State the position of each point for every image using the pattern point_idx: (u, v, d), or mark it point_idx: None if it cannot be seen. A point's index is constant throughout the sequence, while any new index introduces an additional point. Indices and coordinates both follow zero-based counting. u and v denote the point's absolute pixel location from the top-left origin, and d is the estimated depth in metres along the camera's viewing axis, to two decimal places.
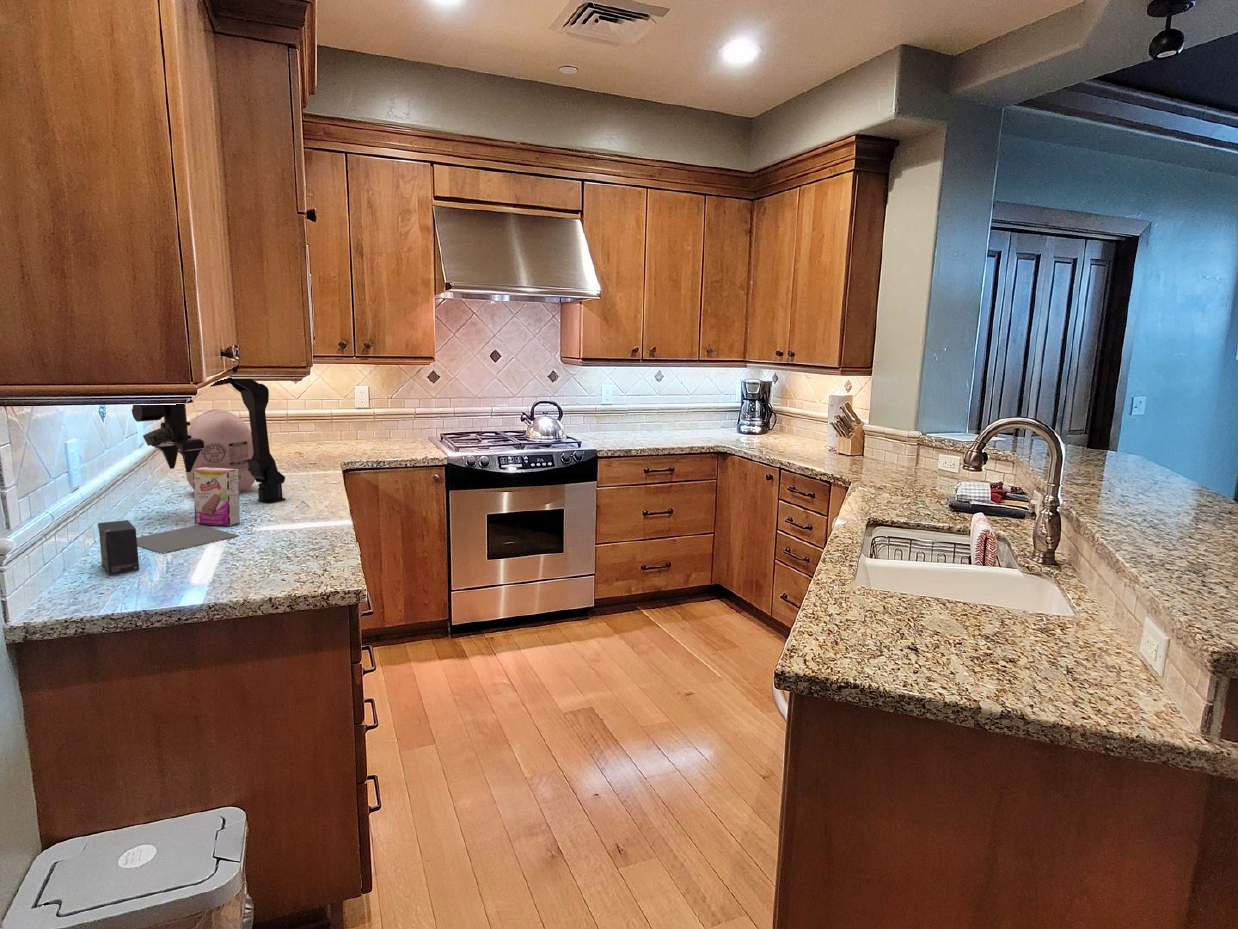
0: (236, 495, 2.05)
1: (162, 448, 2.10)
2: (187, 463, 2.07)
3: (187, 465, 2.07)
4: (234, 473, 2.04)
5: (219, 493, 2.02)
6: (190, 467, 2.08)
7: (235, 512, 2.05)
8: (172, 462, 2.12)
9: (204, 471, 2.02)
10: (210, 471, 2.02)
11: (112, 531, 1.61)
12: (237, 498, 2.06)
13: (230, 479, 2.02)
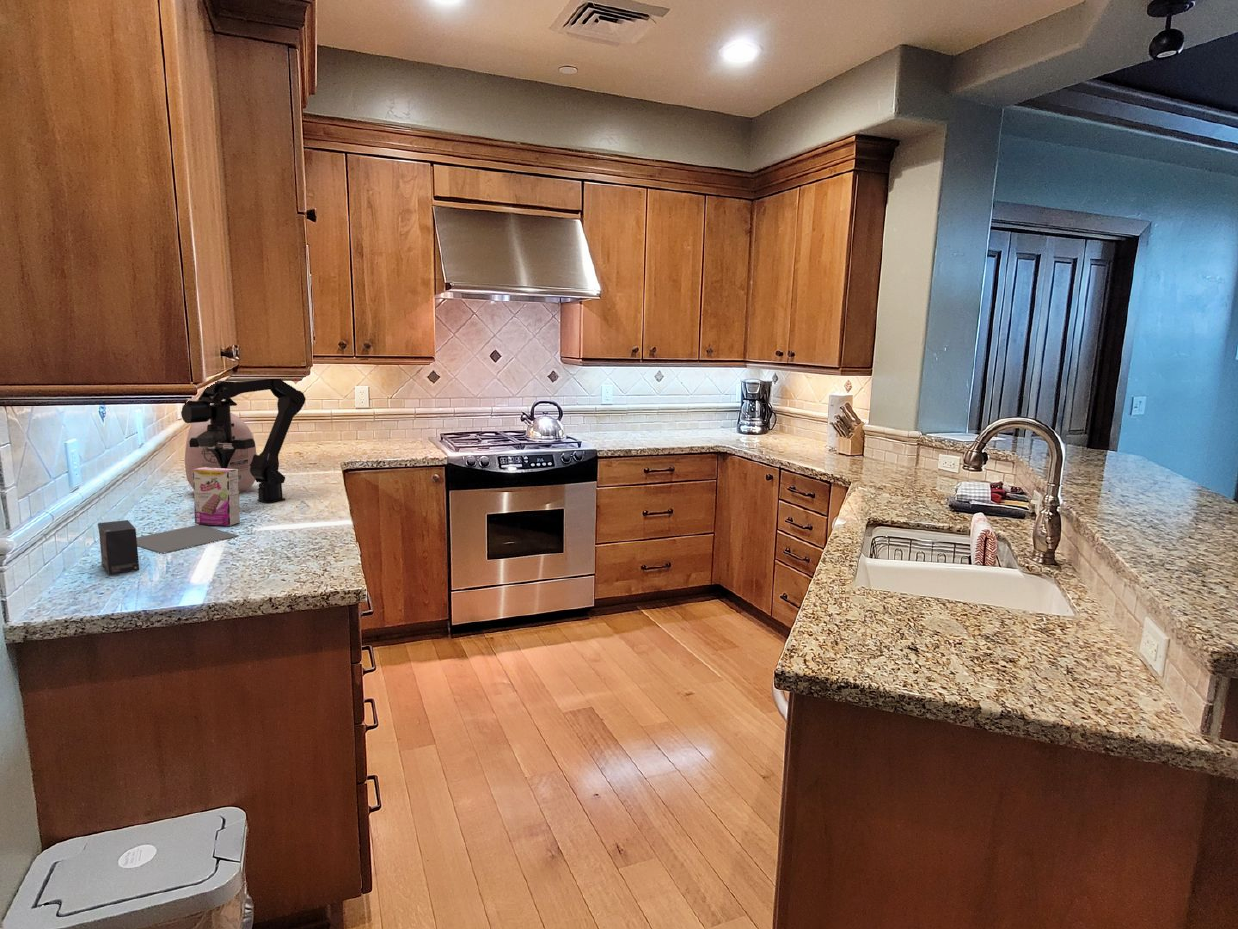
0: (236, 495, 2.05)
1: (216, 450, 2.19)
2: (225, 461, 2.20)
3: (225, 463, 2.21)
4: (234, 473, 2.04)
5: (219, 493, 2.02)
6: (227, 465, 2.22)
7: (235, 512, 2.05)
8: None
9: (204, 471, 2.02)
10: (210, 471, 2.02)
11: (112, 531, 1.61)
12: (237, 498, 2.06)
13: (230, 479, 2.02)
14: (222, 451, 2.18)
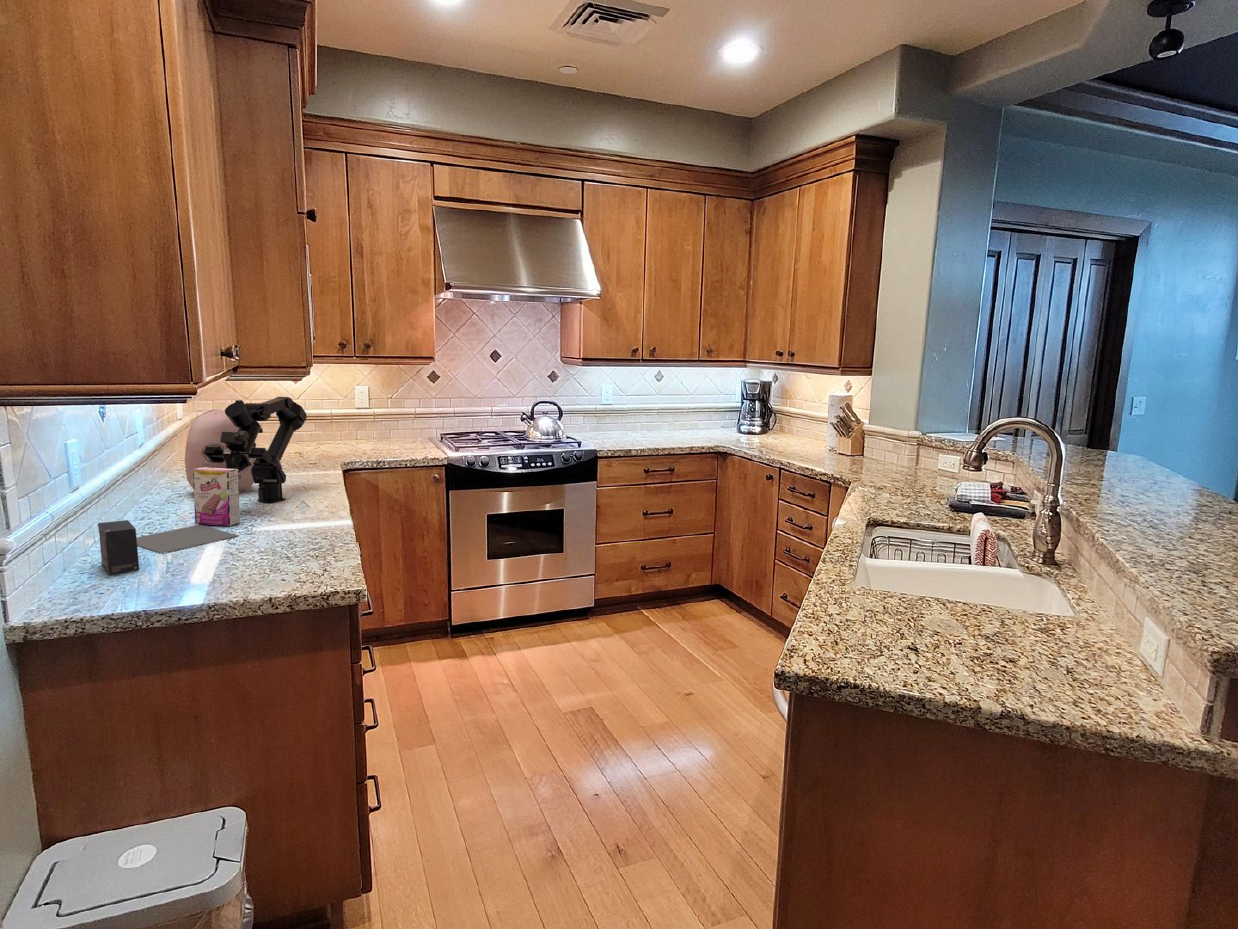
0: (236, 495, 2.05)
1: (230, 457, 2.13)
2: None
3: None
4: (234, 473, 2.04)
5: (219, 493, 2.02)
6: None
7: (235, 512, 2.05)
8: None
9: (204, 471, 2.02)
10: (210, 471, 2.02)
11: (112, 531, 1.61)
12: (237, 498, 2.06)
13: (230, 479, 2.02)
14: (237, 456, 2.13)
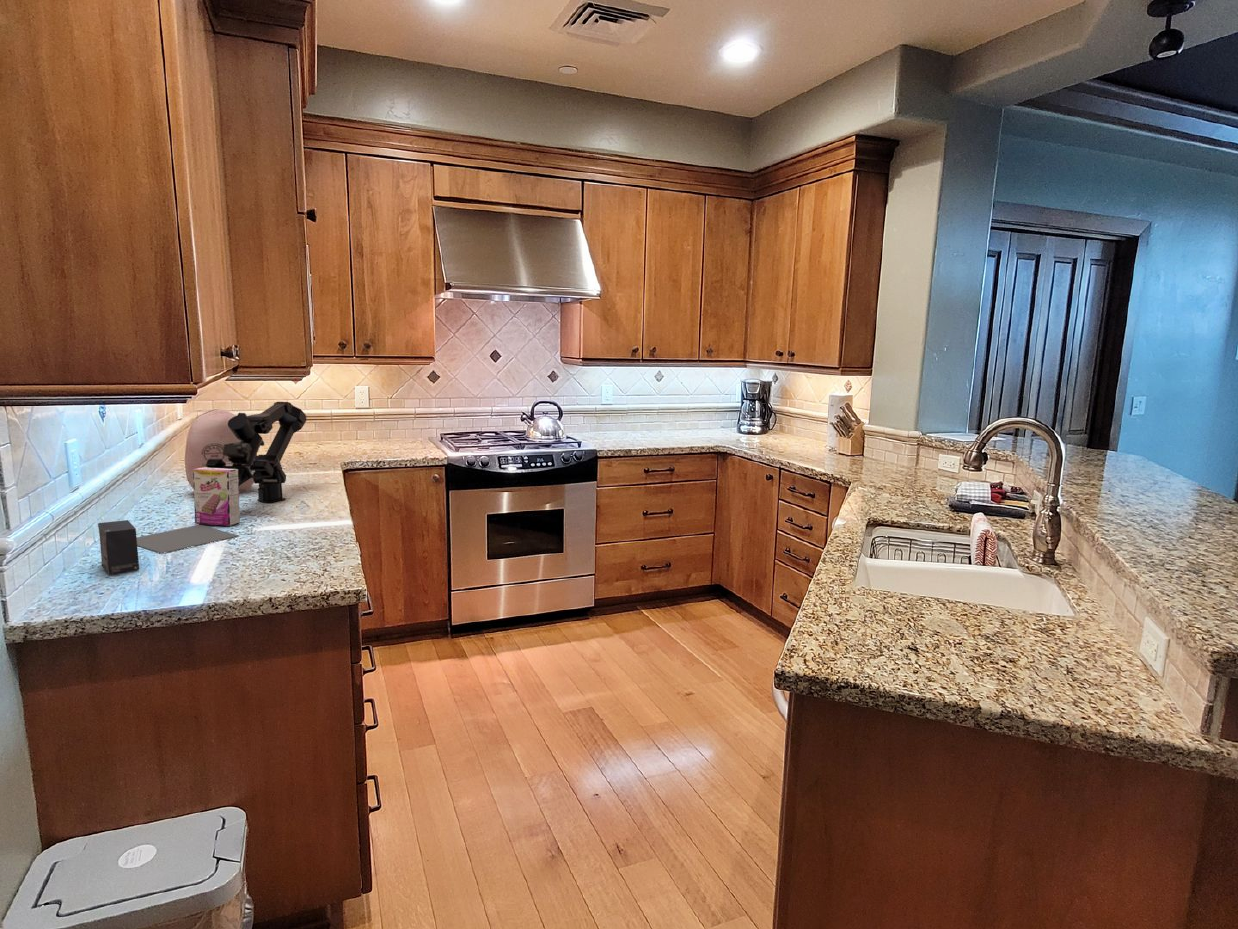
0: (236, 495, 2.05)
1: None
2: None
3: None
4: (234, 473, 2.04)
5: (219, 493, 2.02)
6: None
7: (235, 512, 2.05)
8: None
9: (204, 471, 2.02)
10: (210, 471, 2.02)
11: (112, 531, 1.61)
12: (237, 498, 2.06)
13: (230, 479, 2.02)
14: (239, 468, 2.13)
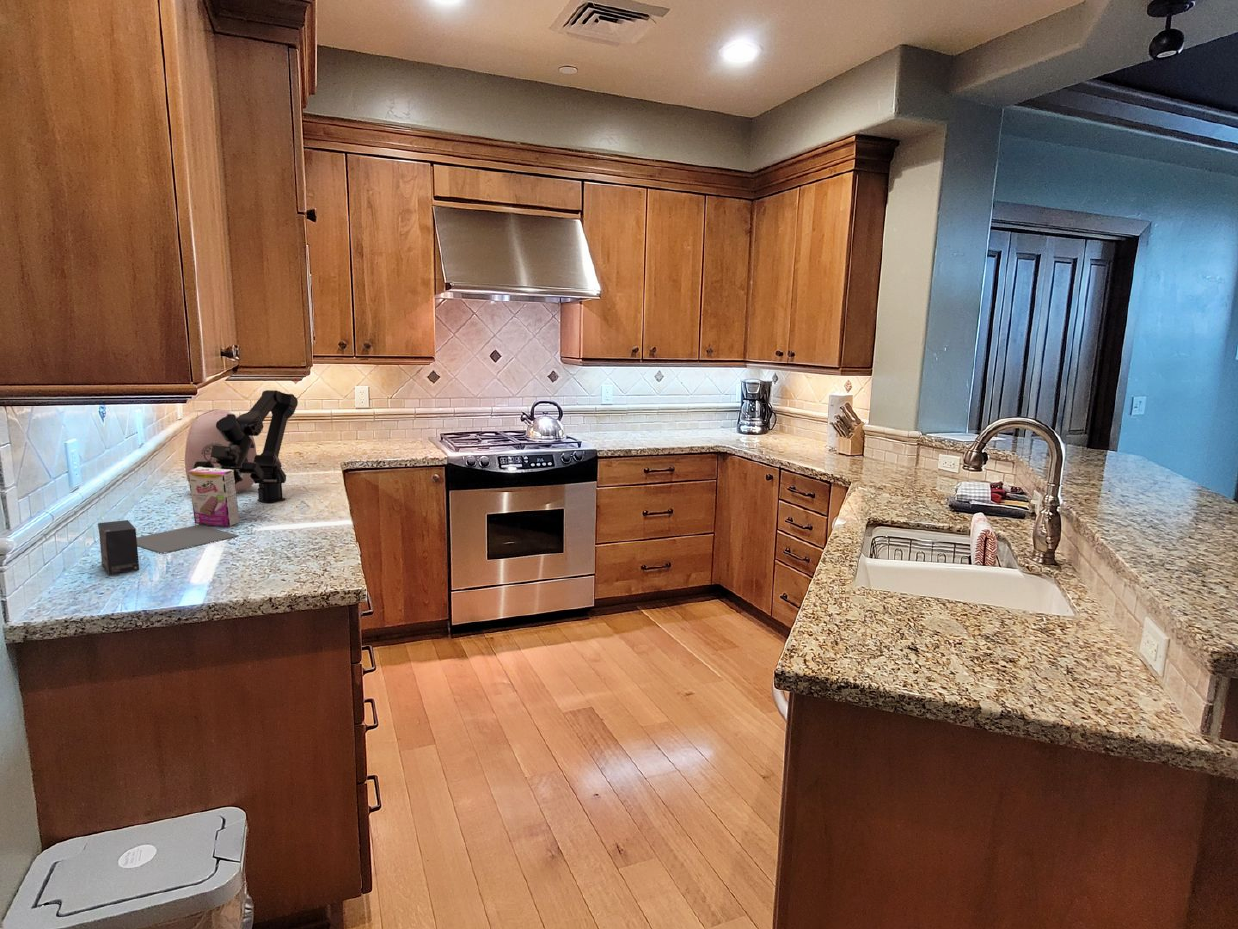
0: (233, 495, 2.03)
1: None
2: None
3: None
4: (229, 475, 2.01)
5: (216, 496, 2.00)
6: None
7: (234, 512, 2.04)
8: None
9: (199, 474, 1.99)
10: (205, 474, 1.99)
11: (112, 531, 1.61)
12: (234, 498, 2.04)
13: (226, 481, 2.00)
14: None
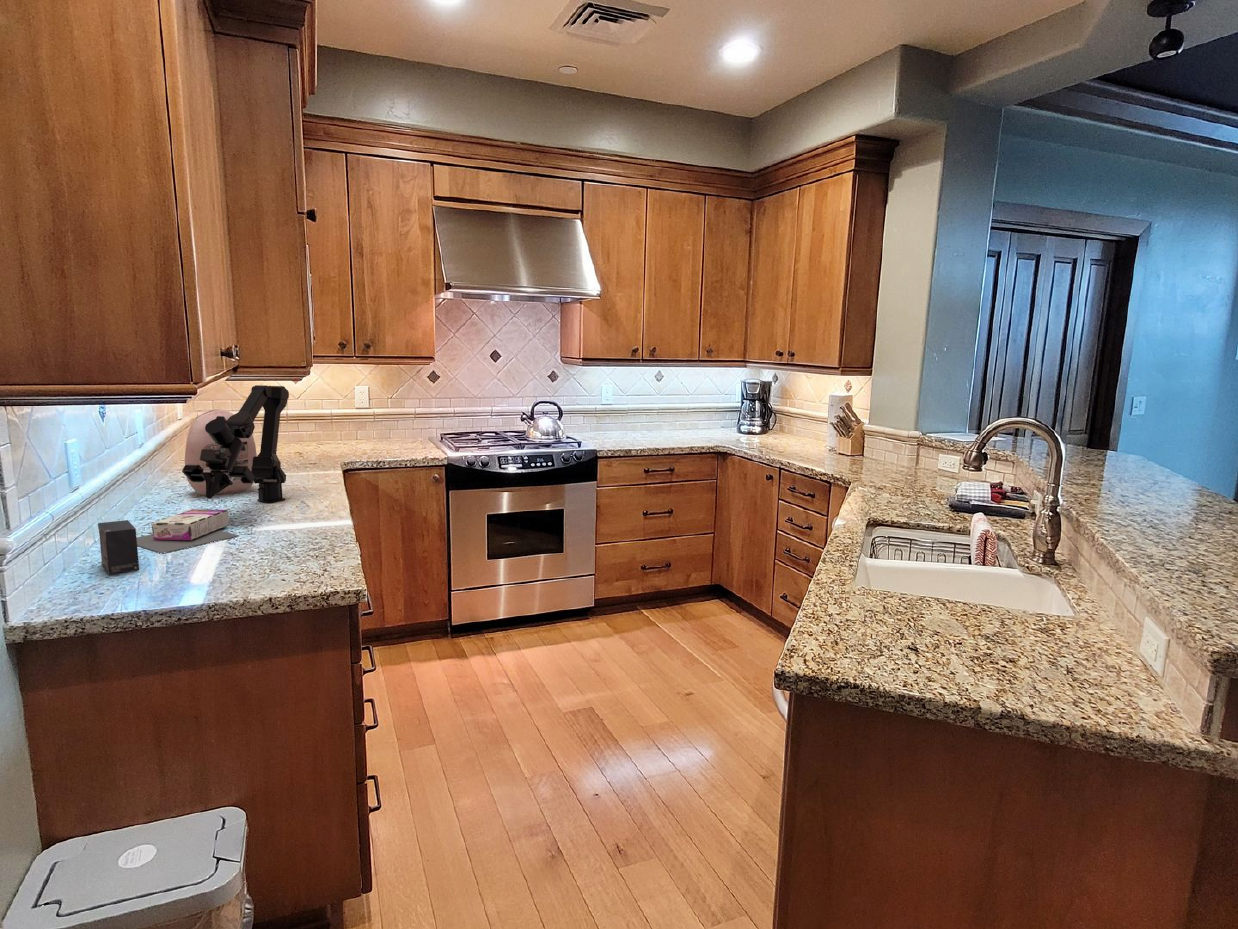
0: (208, 521, 1.94)
1: (210, 475, 2.03)
2: (214, 489, 2.02)
3: (213, 490, 2.02)
4: (193, 530, 1.88)
5: None
6: (213, 494, 2.02)
7: (220, 520, 1.99)
8: None
9: (167, 539, 1.88)
10: (173, 539, 1.88)
11: (112, 531, 1.61)
12: (211, 519, 1.95)
13: (197, 535, 1.89)
14: (217, 475, 2.02)
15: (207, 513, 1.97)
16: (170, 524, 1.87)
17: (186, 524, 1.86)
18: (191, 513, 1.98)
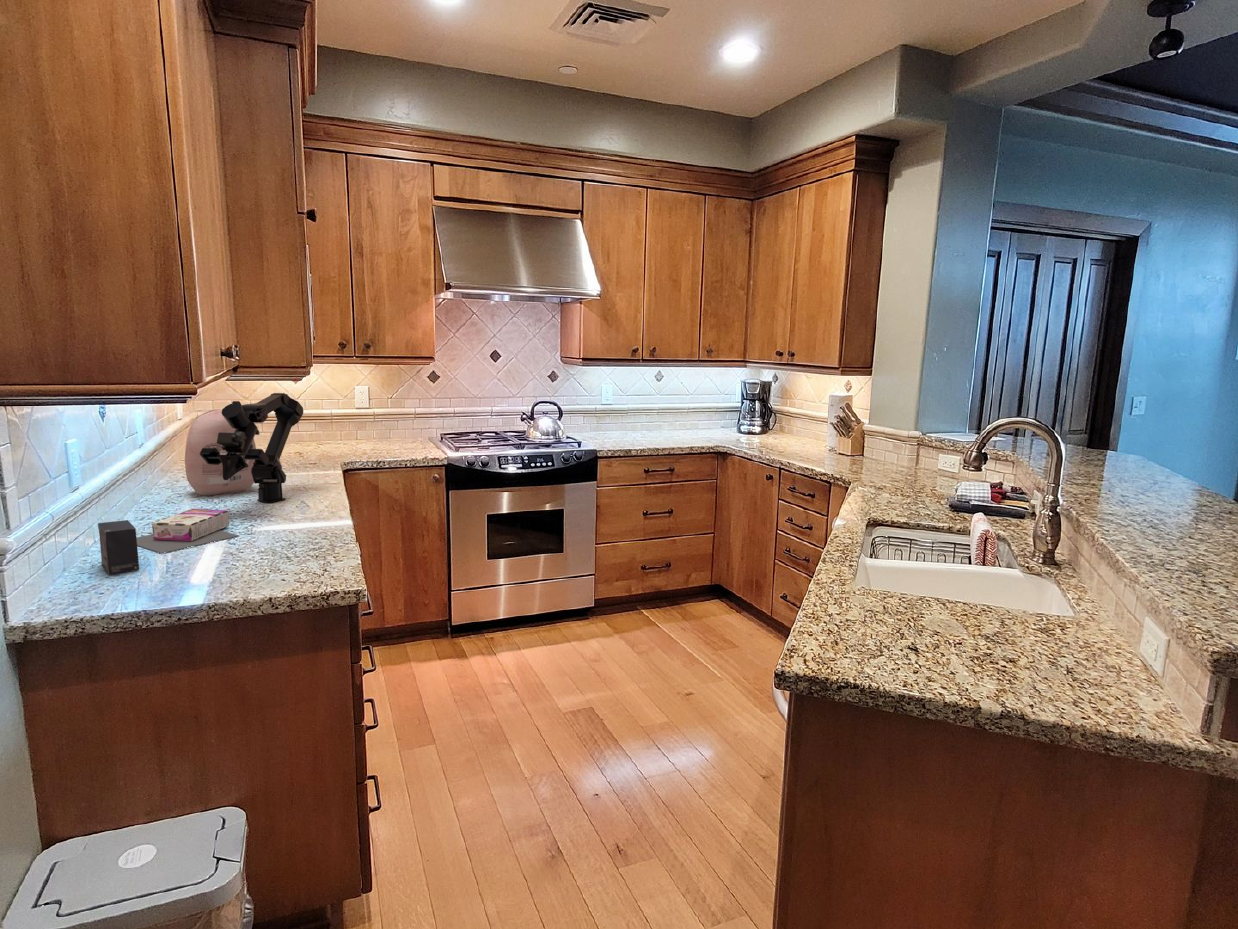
0: (209, 522, 1.94)
1: (227, 458, 2.11)
2: (231, 470, 2.10)
3: (230, 472, 2.10)
4: (193, 531, 1.88)
5: None
6: (229, 476, 2.10)
7: (221, 520, 1.99)
8: None
9: (167, 539, 1.88)
10: None
11: (112, 531, 1.61)
12: (211, 520, 1.95)
13: (197, 536, 1.89)
14: (234, 457, 2.10)
15: (208, 514, 1.97)
16: (171, 524, 1.87)
17: (187, 525, 1.86)
18: (192, 513, 1.97)
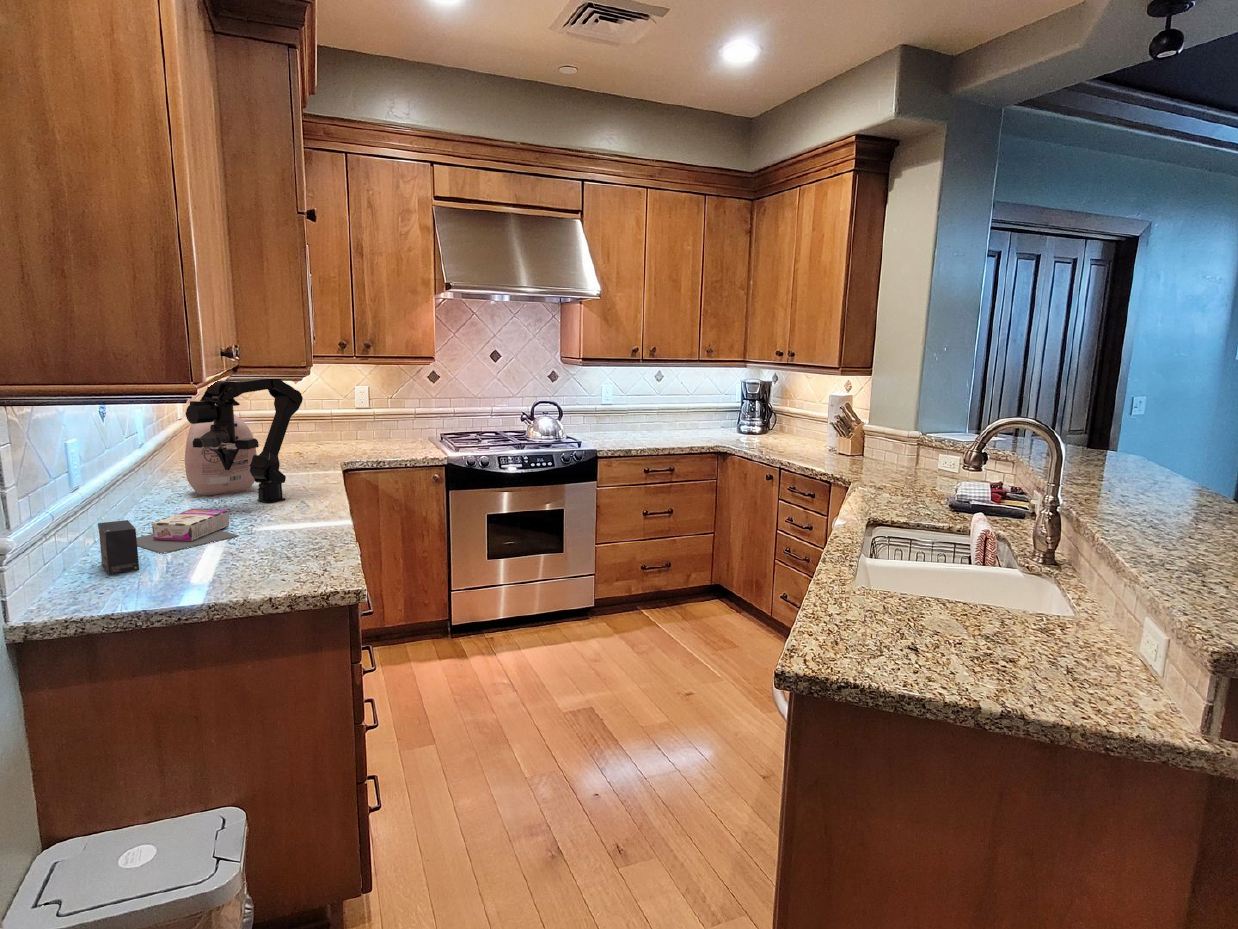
0: (209, 522, 1.94)
1: (219, 450, 2.18)
2: (229, 461, 2.19)
3: (229, 463, 2.20)
4: (193, 531, 1.88)
5: None
6: (230, 465, 2.21)
7: (221, 520, 1.99)
8: None
9: (167, 539, 1.88)
10: None
11: (112, 531, 1.61)
12: (211, 520, 1.95)
13: (197, 536, 1.89)
14: (225, 451, 2.17)
15: (208, 514, 1.97)
16: (171, 524, 1.87)
17: (187, 525, 1.86)
18: (192, 513, 1.97)
